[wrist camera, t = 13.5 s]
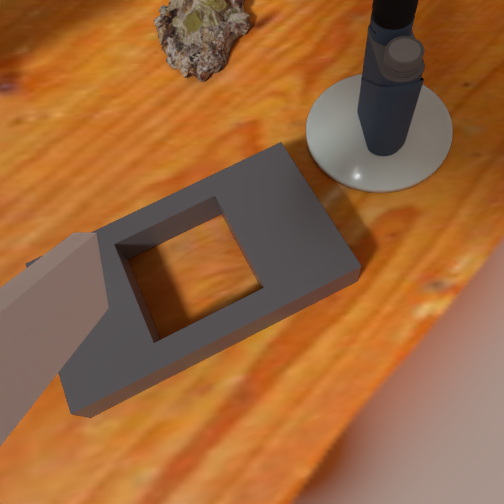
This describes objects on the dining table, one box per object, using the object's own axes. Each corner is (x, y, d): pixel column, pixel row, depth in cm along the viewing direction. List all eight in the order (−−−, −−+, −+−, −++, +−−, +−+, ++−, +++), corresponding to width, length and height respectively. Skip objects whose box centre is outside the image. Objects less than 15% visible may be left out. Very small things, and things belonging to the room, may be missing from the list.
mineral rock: (150, -30, 40) (236, -62, 37) (176, 10, 44) (257, -16, 41) (133, 71, 36) (229, 44, 34) (164, 106, 40) (252, 84, 37)
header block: (45, 277, 32) (25, 263, 30) (282, 163, 34) (281, 142, 31) (90, 418, 28) (71, 414, 26) (357, 281, 30) (361, 266, 27)
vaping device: (388, 96, 34) (425, -74, 23) (407, 156, 32) (457, 0, 21) (352, 102, 34) (372, -64, 24) (369, 162, 32) (399, 10, 21)
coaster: (281, 112, 35) (281, 108, 35) (398, 57, 36) (399, 52, 36) (352, 217, 31) (352, 213, 31) (481, 152, 32) (483, 148, 32)
